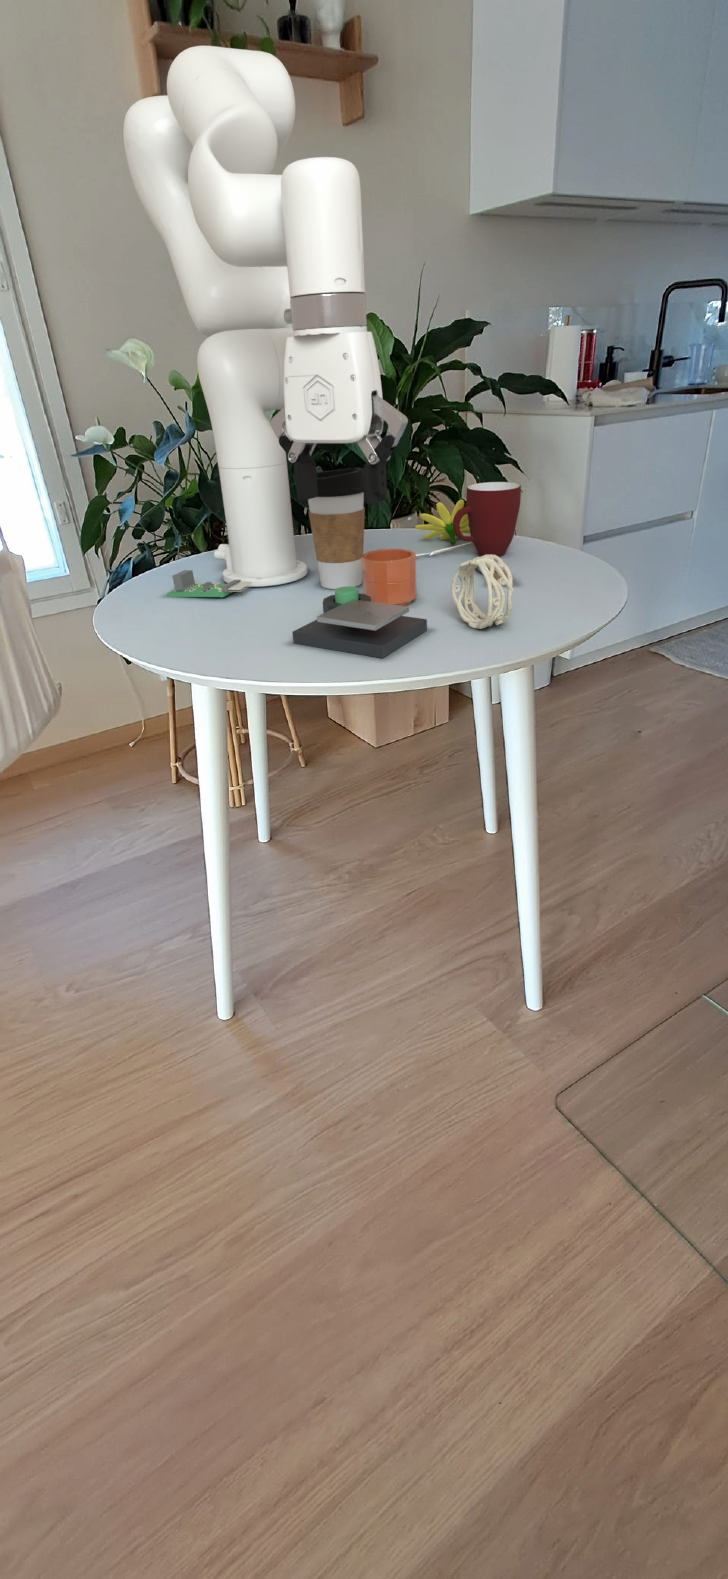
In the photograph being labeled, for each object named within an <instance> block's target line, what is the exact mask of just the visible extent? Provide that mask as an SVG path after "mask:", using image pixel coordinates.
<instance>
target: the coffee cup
mask: <svg viewBox="0 0 728 1579" xmlns="http://www.w3.org/2000/svg"><path fill="white" fill-rule="evenodd" d="M316 473H317V486H318V496H316V497H315V498H311V499H308V500H307V502H308V503H307V504H308V511H307V512H308V517H309V523H310V529H311V535H312V541H313V547H314V553H315V557H316V562H317V569H318V575H319V582H320V586H321V587H323V588H324V589H330V590H335V589H337V588H340V587H346V586H351V587H356V588H357V587H359V586H361V585H363V578H362V559H361V557H362V555H363V554H364V543H365V542H364V540H365V539H364V538H365V512H366V507H365V506H364V503H365V488H364V468H363V467H351V468H343V469H342V468H341V469H333V470H323V471H316Z"/></svg>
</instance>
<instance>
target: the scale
mask: <svg viewBox="0 0 728 1579" xmlns="http://www.w3.org/2000/svg"><path fill="white" fill-rule="evenodd" d="M358 598H359V600H361V601H369V602H371V597H370V596H368V595H366V594H363V593H361V592H360V593H359V592H358ZM340 605H342V604H340V603H335V594H331V595H329V596H327V597H324V598H323V601H322V612H323V613H326V612H328V611H330V610H332V609H334V608H336V607H338V606H340ZM323 613H322V614H323ZM427 631H428V620H427V618H421V617H415V616H414V617H412V616H406V615H402V616H400V617H399V618H397V619H395V620H393V621H392V622H390V623H388V624H386V625H385V626H383V627H381V628H379V629H378V630H376V631H375V630H368V629H362V628H355V627H348V626H342V625H335V624H328V623H322V622H317V619H315V620H312V621H311V622H309V623H307V624H305V625H303V626H301V627H298V628H297V629H295V630H292V642H293V643H292V644H296V645H302V646H310V647H315V648H321V649H324V650H325V649H326V650H332V651H338V652H343V653H349V654H354V655H355V654H356V655H360V656H361V655H362V656H367V657H373V658H379V659H384V658H386V657H387V656H389V655H391V654H392V653H394V652H395V651H397V650H399V649H400V648H402V647H404V646H405V645H407V644H408V643H410V642H412V641H413V640H415V639H416V638H418V637H419V636H421V635H422V634H424V633H426V632H427Z"/></svg>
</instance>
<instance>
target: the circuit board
mask: <svg viewBox="0 0 728 1579" xmlns="http://www.w3.org/2000/svg"><path fill="white" fill-rule="evenodd" d="M171 577H172V582H173V586H174V589H173V590H171V591H169V592H167V593H166V596H167V597H168V598H220V599H223V598H225V597H226V596H229V595H230V594H232V593H236V592H237V593H238V592H239V593H241V592H243V590H245V589H246V590H247V589H248V587H246V586H252V585H250V584H252V582H241V580H233V581H231V582H229V583H218V582H217V583H212V581H206V582H204V583H196V581H195V577H194V572H193V570H192V569H187V570H186V569H184V570H182V571H180V572H177V573H175V574H172V576H171Z"/></svg>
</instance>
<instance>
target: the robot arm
mask: <svg viewBox="0 0 728 1579" xmlns="http://www.w3.org/2000/svg"><path fill="white" fill-rule="evenodd" d="M166 93H167V95H166V94H165V95H154V96H148V97H145V98H141V99H138V100H137V101H136V102H135V103H133V104H132V105H130V107H129V108H128V110H127V111H126V113H125V117H124V121H123V129H122V130H123V131H122V132H123V136H122V137H123V146H124V152H125V158H126V163H127V167H128V170H129V174H130V178H131V180H132V184H133V186H134V189H135V192H136V194H137V196H138V199H139V201H140V203H141V205H142V207H143V209H144V210H145V213H146V214H147V216H148V218H149V220H150V222H151V223H152V225H153V226H154V227H155V229H156V231H157V233H158V234H159V236H160V237H161V240H162V241H163V243H164V245H165V247H166V249H167V252H168V255H169V259H170V261H171V265H172V268H173V271H174V273H175V276H176V280H177V282H178V286H179V288H180V291H181V294H182V297H183V300H184V303H185V305H186V308H187V312H188V314H189V316H190V319H191V320H192V322H193V325H194V326H195V328H196V329H197V330H198V331H199V333H201V334H203V335H204V336H206V337H207V338H206V339H204V340H203V342H202V343H201V344H200V346H199V348H198V352H197V357H196V366H197V367H196V368H197V375H198V379H199V383H200V387H201V389H202V393H203V397H204V401H205V404H206V407H207V411H208V415H209V420H210V424H211V428H212V435H213V440H214V447H215V453H216V460H217V468H218V474H219V481H220V487H221V495H222V503H223V509H224V517H225V526H226V532H227V538H228V543H221V544H219V545H218V546H217V549H215V550H214V552H213V558H214V559H215V560H219V561H225V562H226V568H224V570H223V571H222V579H223V581H224V582H225V584H227V583H229V582H231V581H233V580H241V582H252V584H250V585H252V586H246V587H245V588H260V587H272V586H279V585H286V584H289V583H292V582H296V581H298V580H301V579H303V578H304V577H305V576H307V574H308V572H309V571H308V565H307V564H306V563H305V562H303V561H301V560H298V559H297V555H296V545H295V534H294V533H295V532H294V525H293V524H294V523H293V513H292V512H293V511H292V502H291V492H290V490H291V489H290V481H289V480H290V479H289V470H288V461H289V462H290V463H292V464H293V472H294V473H293V474H294V483H295V489H296V497H297V498H296V499H297V500H298V501H299V502H304V501H308V499H311V498H315V497H316V496H318V486H317V473H316V472H317V463H316V459H311V457H312V455H313V452H314V450H315V448H316V446H317V444H353V443H357V445H358V447H359V449H360V450H361V452H362V453H363V455H364V457H365V458H366V460H367V463H365V464H364V465H363V471H364V488H365V492H364V503H365V504H366V505H376V504H377V503H381V502H383V501H385V499H386V493H387V490H388V486H387V485H388V484H387V483H388V482H387V462H388V461H390V459H391V457H392V456H391V455H392V454H393V453H394V451H395V450H396V449H397V448H398V446H399V445H400V442H401V438H402V436H403V434H404V432H405V430H406V428H407V426H408V423H409V419H408V417H407V416H406V415H405V414H404V413H403V412H401V411H399V409H397V408H395V407H394V406H393V405H391V403H389V402H388V401H387V400H385V399H383V388H382V380H381V371H380V364H379V358H378V353H377V347H376V344H375V338H374V335H373V332H372V331H368V326H367V325H368V324H367V322H368V320H367V304H366V303H367V301H366V300H367V298H366V277H365V275H366V274H365V252H364V232H363V230H364V229H363V208H362V206H363V205H362V189H361V186H362V185H361V177H360V174H359V171H358V169H357V168H356V166H355V164H353V163H352V162H351V161H350V160H348V159H344V158H342V157H337V156H336V157H334V156H332V157H331V156H318V157H317V156H316V157H315V156H314V157H307V158H303V159H298V160H296V161H295V160H294V161H292V163H289V164H288V165H287V166H286V167H285V168H284V170H283V172H282V174H272V172H273V170H274V168H275V166H276V162H277V159H278V158H277V157H279V155H280V154H281V153H282V151H283V150H284V148H285V147H286V145H287V144H288V142H289V140H290V138H291V136H292V133H293V129H294V126H295V120H296V96H295V91H294V86H293V82H292V79H291V76H290V74H289V72H288V70H287V69H286V66H284V64H283V62H282V61H281V60H280V59H279V58H278V57H276V56H275V55H273V54H271V53H269V52H265V51H262V50H253V49H252V50H251V49H241V48H233V47H224V46H215V45H196V46H192V47H191V46H190V47H188V48H186V49H184V50H182V51H181V52H180V53H178V55H177V56H176V57H175V58H174V60H173V61H172V62H171V64H170V67H169V69H168V72H167V76H166ZM276 410H277V411H278V410H279V411H278V412H277V413H276V414H275V415H274V416H273V417H272V418H270V420H268V418H267V417H266V415H265V412H272V411H276ZM384 422H385V423H386V424H387V430H386V434H385V436H383V437H381V435H382V433H383V430H384ZM287 459H288V461H287Z"/></svg>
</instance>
